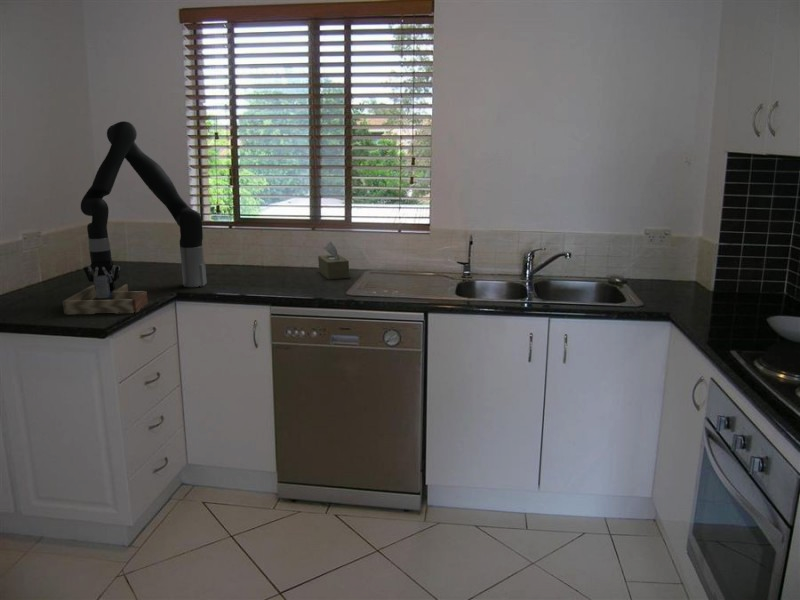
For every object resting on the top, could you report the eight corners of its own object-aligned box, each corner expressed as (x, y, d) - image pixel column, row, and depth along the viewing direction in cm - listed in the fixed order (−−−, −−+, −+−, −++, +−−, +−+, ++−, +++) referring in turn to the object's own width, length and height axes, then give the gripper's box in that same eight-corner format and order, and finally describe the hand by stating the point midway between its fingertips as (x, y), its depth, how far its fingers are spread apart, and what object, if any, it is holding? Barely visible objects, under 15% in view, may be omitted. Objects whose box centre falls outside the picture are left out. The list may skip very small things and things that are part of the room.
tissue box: (318, 272, 313) (317, 239, 309) (338, 270, 317) (337, 237, 313) (328, 280, 296) (327, 245, 292) (349, 278, 299) (348, 243, 296)
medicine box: (108, 298, 259) (105, 276, 257) (96, 298, 259) (93, 277, 256) (115, 293, 267) (112, 272, 264) (103, 293, 266) (101, 272, 264)
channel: (158, 295, 270) (157, 283, 268) (136, 313, 243) (134, 299, 242) (93, 296, 268) (92, 284, 267) (64, 314, 242) (62, 301, 241)
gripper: (121, 247, 262) (127, 288, 266) (85, 248, 261) (90, 289, 265) (114, 250, 254) (120, 293, 259) (77, 251, 254) (83, 294, 258)
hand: (105, 291), depth 262 cm, fingers closed on medicine box, 4 cm apart
